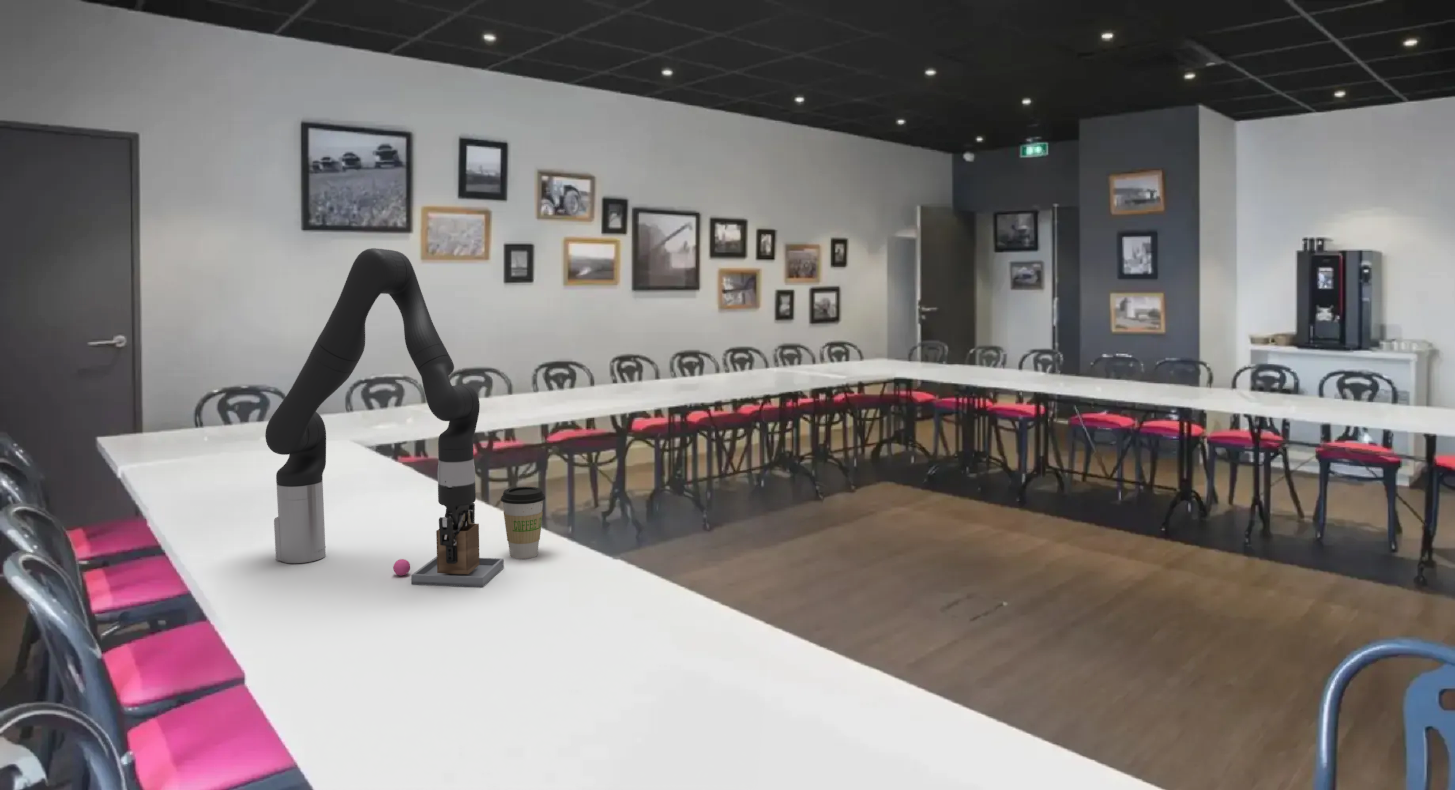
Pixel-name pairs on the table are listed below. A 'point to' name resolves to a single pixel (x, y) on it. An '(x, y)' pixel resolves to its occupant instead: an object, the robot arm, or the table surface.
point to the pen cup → (460, 552)
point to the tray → (473, 579)
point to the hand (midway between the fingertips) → (458, 557)
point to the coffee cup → (523, 520)
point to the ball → (401, 567)
